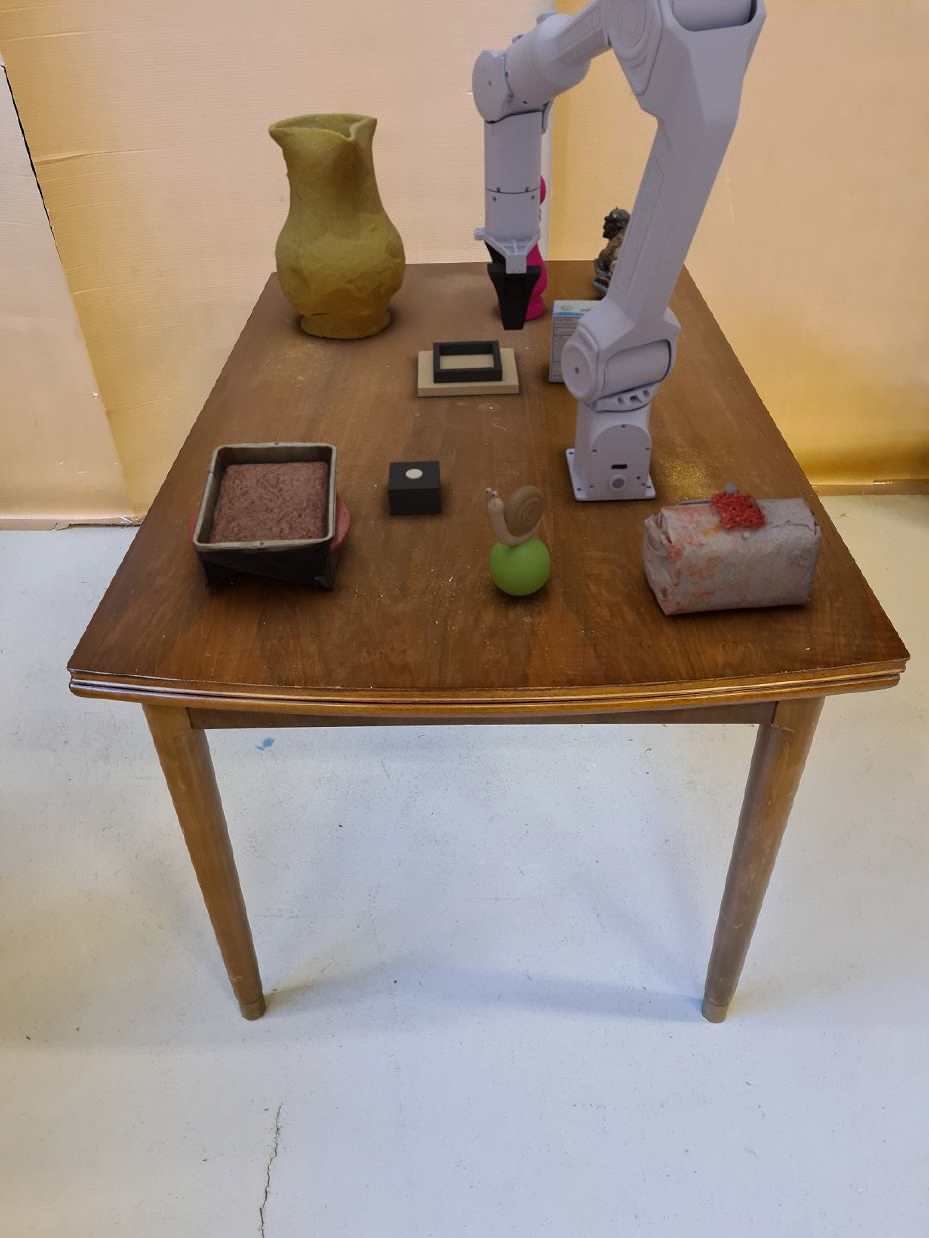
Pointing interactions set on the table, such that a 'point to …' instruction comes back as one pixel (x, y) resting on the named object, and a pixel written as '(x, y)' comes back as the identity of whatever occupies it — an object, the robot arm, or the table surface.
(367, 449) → the table surface
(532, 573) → the snail figurine
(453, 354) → the base pad
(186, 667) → the table surface
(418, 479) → the black block
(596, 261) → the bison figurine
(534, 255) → the pepper mill
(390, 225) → the pitcher
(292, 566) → the baking dish
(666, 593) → the food item
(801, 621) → the table surface
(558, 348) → the medicine box
